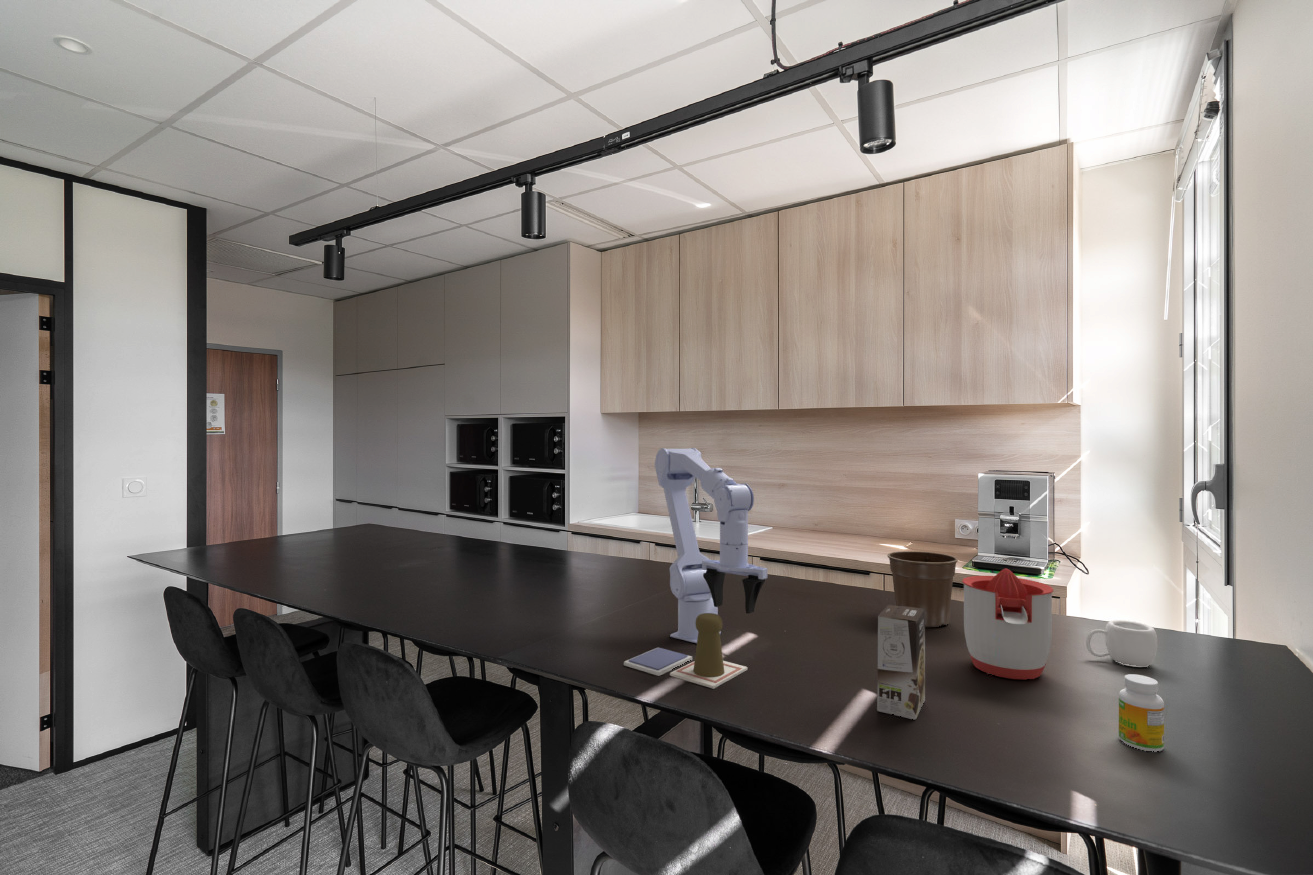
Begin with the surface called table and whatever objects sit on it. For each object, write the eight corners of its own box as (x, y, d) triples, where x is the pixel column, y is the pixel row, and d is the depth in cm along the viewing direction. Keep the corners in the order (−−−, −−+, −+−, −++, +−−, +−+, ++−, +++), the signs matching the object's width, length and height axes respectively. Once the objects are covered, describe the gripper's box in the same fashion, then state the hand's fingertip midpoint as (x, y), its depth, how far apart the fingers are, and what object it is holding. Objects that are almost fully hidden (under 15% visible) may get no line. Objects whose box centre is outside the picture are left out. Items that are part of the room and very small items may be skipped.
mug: (1146, 658, 129) (1146, 620, 129) (1165, 673, 121) (1165, 633, 121) (1079, 652, 133) (1079, 615, 133) (1093, 666, 125) (1093, 627, 125)
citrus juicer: (968, 682, 117) (968, 575, 117) (958, 652, 133) (958, 558, 133) (1065, 694, 111) (1065, 582, 111) (1042, 661, 127) (1042, 563, 127)
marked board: (705, 658, 129) (705, 655, 129) (747, 669, 123) (747, 666, 123) (669, 675, 120) (669, 672, 120) (713, 688, 114) (713, 685, 114)
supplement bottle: (1109, 736, 96) (1109, 672, 96) (1142, 734, 96) (1142, 671, 96) (1139, 753, 90) (1139, 686, 90) (1173, 752, 91) (1174, 685, 91)
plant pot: (881, 610, 165) (881, 549, 165) (945, 612, 163) (945, 551, 163) (895, 629, 149) (896, 561, 149) (967, 632, 147) (967, 563, 147)
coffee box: (917, 721, 101) (917, 621, 101) (876, 711, 104) (876, 615, 104) (926, 700, 108) (926, 607, 108) (887, 692, 112) (887, 602, 112)
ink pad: (658, 650, 134) (658, 645, 134) (692, 659, 128) (692, 655, 128) (623, 665, 125) (623, 660, 125) (658, 675, 120) (658, 670, 120)
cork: (722, 678, 117) (722, 619, 117) (691, 675, 118) (691, 617, 118) (726, 666, 123) (726, 610, 123) (695, 664, 124) (695, 609, 124)
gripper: (693, 541, 130) (693, 607, 130) (755, 549, 121) (754, 619, 121) (712, 537, 135) (712, 600, 135) (772, 544, 126) (772, 611, 126)
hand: (733, 609), depth 128 cm, fingers open, 7 cm apart
